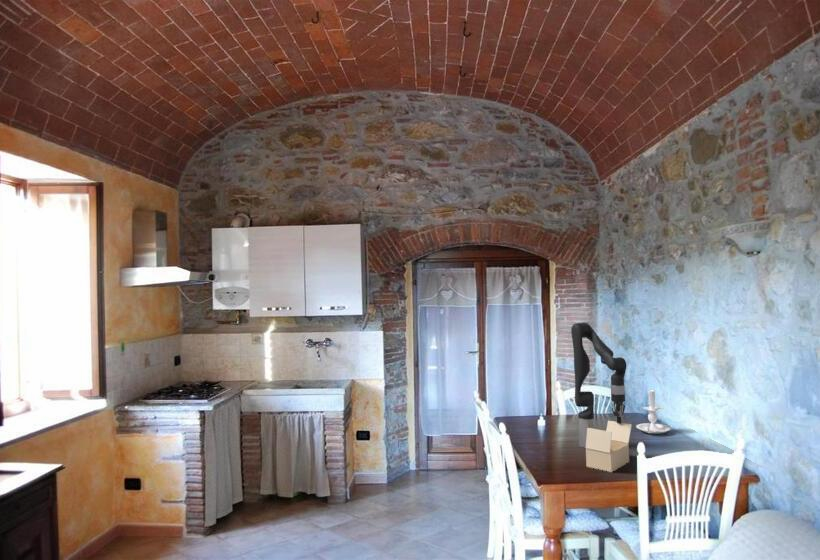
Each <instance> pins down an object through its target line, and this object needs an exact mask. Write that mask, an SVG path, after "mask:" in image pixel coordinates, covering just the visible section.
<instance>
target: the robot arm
mask: <svg viewBox="0 0 820 560" xmlns="http://www.w3.org/2000/svg"><path fill="white" fill-rule="evenodd" d="M570 334H571V341H572V347H573V349H572V350H573V370H574V402H575V406H576V407H578V408H579V407H580V408H586V409H585V410H582V411H580V412H579V411H578V413H577V416H578V417H577V419H578V422H577V423H578V442H579V443H578V446H579V447H581V448H584V449H586V437H587V428H593V429H595V412H594V410H595V406H594V405H595V398H594V393H593V392H592V391H589V390H588V391H584V390H583V391H581V389H582V387H583V386H582V385H583V383H584V381H585V380H586V378H587V377H588V376H589V373H590V371H591V363H590V357H589V355H588V354H587V352H586V350H585V348H584V344H583V339H585V338H586V339H588V340H589V341H590V342H591V343H592V346H593V349H594V351H595V353H596V354H597V355H598V356H600V357H601V359H602V360H603V362H604V364H605V365H606V366H607V368H608V369H609V370H610V371H613V372H614V371H615V372H614V373H612V374H611V376H610V400H611V402H613V407H612V408H611V411H612V414H613V415H614V417H616V422H617V423H619V424H620V423H623V422H622V417H623V415H624V413H625V409H626V405H625V404H624V402H626V387H625V376H626V371H627V361H626V360H625V358H623V357H621V356H620V357H614V352H613V350H612V349H611V348H610V347H609V346H607V345H606V344H605V342H603V340H602V339H601V338H600V337H599V335H598V334H597V333H596V332H595V330H594V329H593V327H592V326H591V324H589V323H588V322H578V323H574V324H572V325H571V330H570Z"/></svg>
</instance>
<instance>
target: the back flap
mask: <svg viewBox="0 0 820 560" xmlns="http://www.w3.org/2000/svg"><path fill="white" fill-rule="evenodd" d="M632 427H633V424H632V423H626V422H622V423H620V424H619V423H617V421H613V420H607V425H606V429H605V431H609V432H612V437H611V440H613V441H617V442H621V443H627V444H629V443H630V437H631V432H632ZM629 445H630V444H629Z"/></svg>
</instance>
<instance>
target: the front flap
mask: <svg viewBox="0 0 820 560" xmlns="http://www.w3.org/2000/svg"><path fill="white" fill-rule="evenodd" d="M611 437H612V432H609V431H606V430H603V429H597V428H594V429H593V428H587V437H586V448H588V449H593V450H598V451H603V452H608V453H610V450H611ZM586 448H585V449H586Z"/></svg>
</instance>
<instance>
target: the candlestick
mask: <svg viewBox="0 0 820 560" xmlns="http://www.w3.org/2000/svg"><path fill="white" fill-rule="evenodd" d="M655 394H656V392H655V390H654V389H652V390H651V389H650V390H648V403H649V406H643V407H642V409H643V410H647V411H649V413H648V415H647V419H648V421H650V422H646V423H639V424H636V425H635V427H636V428H637V430H638V429H639V431H642V432H643V433H648V434H651V435H653V434H654V435H658V434H660V435H661V434H664V433H667V432H668V431H671V427H670V426H668V425H665V424H660V423H656V422H657V420H658V415H657V413H656V412H658V411H662V409H663V408H662V407H659V406H655V405H656V395H655Z"/></svg>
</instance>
